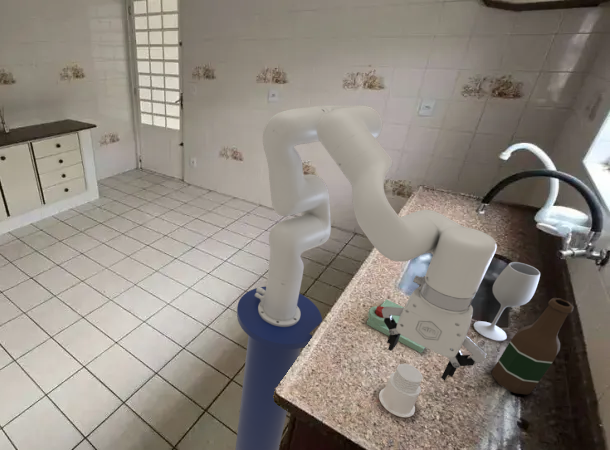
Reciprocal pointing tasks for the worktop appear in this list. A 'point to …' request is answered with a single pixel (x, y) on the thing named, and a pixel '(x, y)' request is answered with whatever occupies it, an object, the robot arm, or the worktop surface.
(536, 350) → the beer bottle
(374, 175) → the robot arm
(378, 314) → the button
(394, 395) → the downlight
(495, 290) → the wineglass
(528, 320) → the worktop surface
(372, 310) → the scale
